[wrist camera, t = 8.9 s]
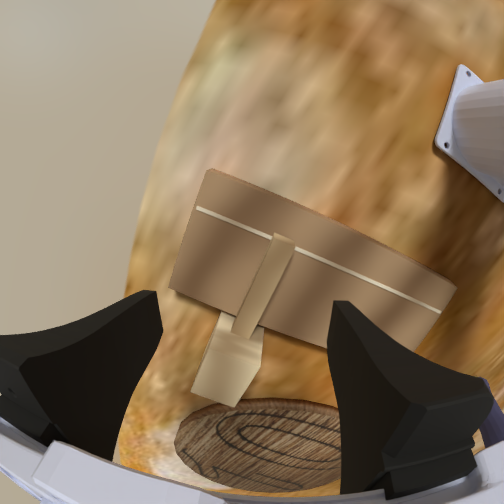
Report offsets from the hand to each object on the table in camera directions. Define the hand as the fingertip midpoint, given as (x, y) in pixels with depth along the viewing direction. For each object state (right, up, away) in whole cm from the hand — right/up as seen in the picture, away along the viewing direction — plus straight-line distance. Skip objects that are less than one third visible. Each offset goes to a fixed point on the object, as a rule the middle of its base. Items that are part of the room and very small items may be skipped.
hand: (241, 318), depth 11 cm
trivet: (+3, -23, +19) cm, 31 cm away
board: (+6, 0, +10) cm, 11 cm away
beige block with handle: (0, -2, +11) cm, 11 cm away
